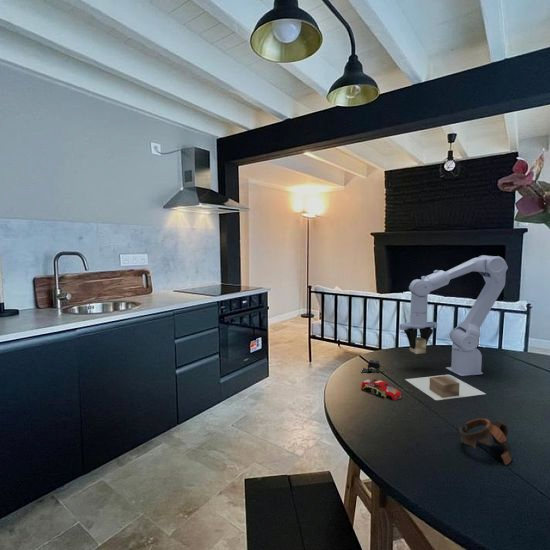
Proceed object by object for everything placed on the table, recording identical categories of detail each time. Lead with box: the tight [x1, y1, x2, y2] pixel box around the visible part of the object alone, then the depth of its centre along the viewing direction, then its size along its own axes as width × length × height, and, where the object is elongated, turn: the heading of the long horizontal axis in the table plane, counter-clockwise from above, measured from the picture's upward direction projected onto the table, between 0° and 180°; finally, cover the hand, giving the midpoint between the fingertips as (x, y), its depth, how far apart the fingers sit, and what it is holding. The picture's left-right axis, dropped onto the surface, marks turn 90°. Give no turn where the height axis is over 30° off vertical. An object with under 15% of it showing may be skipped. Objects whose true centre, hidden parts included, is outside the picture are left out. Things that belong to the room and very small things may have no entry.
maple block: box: [409, 336, 427, 355], centre depth 125 cm, size 4×4×5 cm
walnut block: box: [429, 375, 460, 398], centre depth 106 cm, size 6×6×4 cm
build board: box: [404, 374, 486, 401], centre depth 111 cm, size 18×16×1 cm
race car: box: [361, 378, 403, 401], centre depth 107 cm, size 13×6×4 cm, turn 41°
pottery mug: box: [458, 418, 513, 466], centre depth 78 cm, size 12×10×8 cm
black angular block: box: [360, 359, 386, 374], centre depth 124 cm, size 12×7×5 cm, turn 66°
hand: (417, 347), depth 125 cm, fingers closed on maple block, 4 cm apart
